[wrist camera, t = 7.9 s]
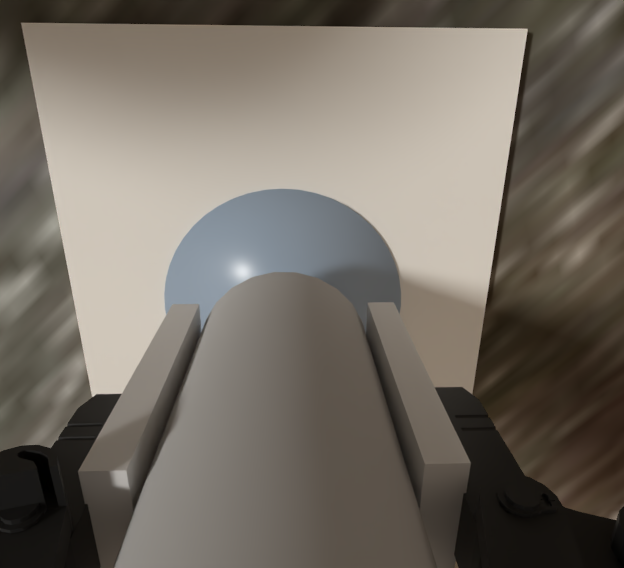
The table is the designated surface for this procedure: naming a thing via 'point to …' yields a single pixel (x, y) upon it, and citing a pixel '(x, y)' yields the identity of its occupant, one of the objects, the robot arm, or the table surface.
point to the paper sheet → (276, 172)
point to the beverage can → (279, 445)
